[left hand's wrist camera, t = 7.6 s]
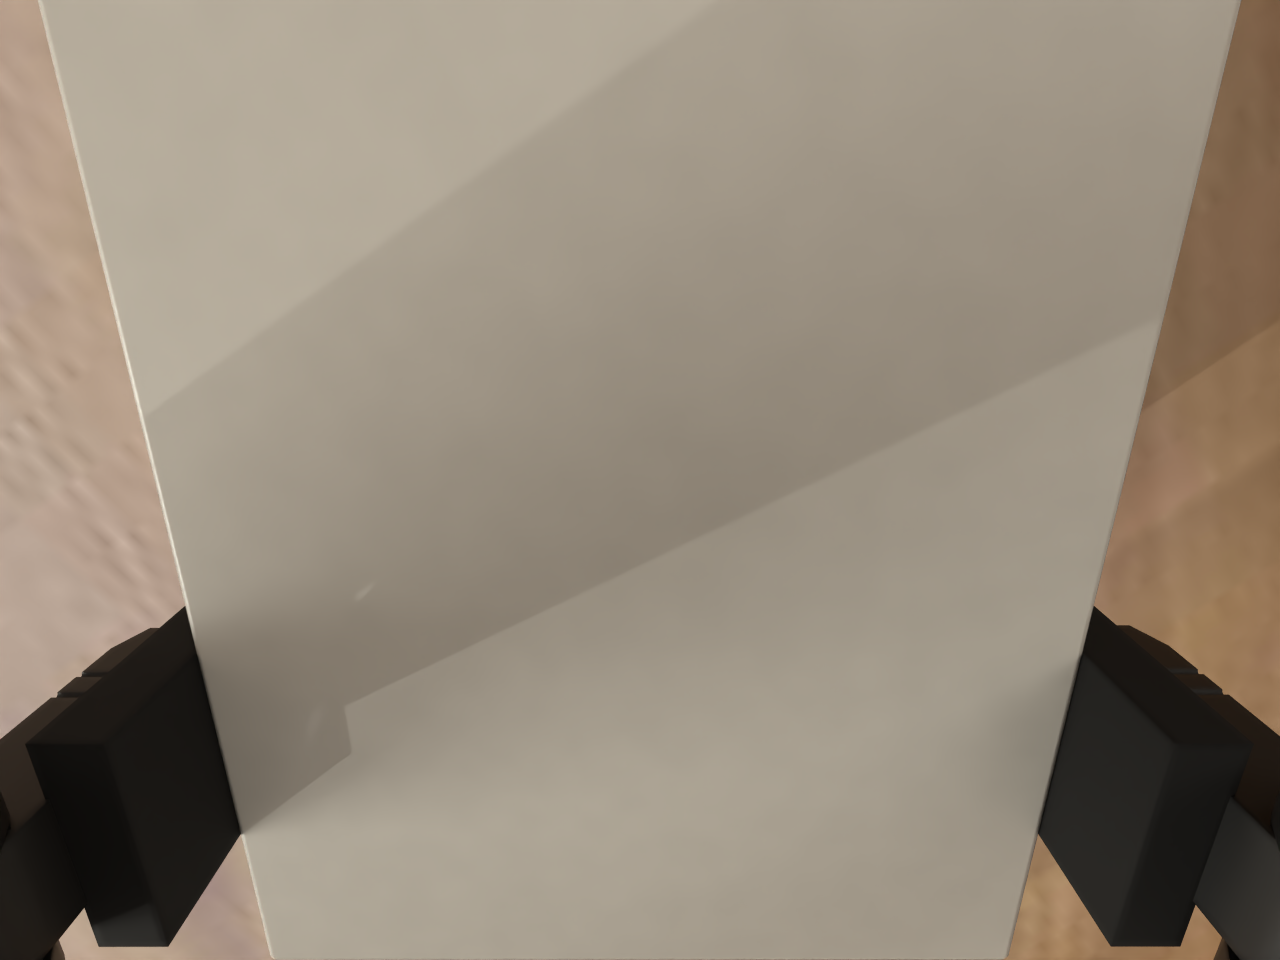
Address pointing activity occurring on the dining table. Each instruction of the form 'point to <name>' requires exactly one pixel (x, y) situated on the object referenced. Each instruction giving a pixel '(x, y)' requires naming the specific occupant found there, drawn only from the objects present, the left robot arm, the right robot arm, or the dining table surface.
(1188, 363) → the dining table surface
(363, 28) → the cabinet
